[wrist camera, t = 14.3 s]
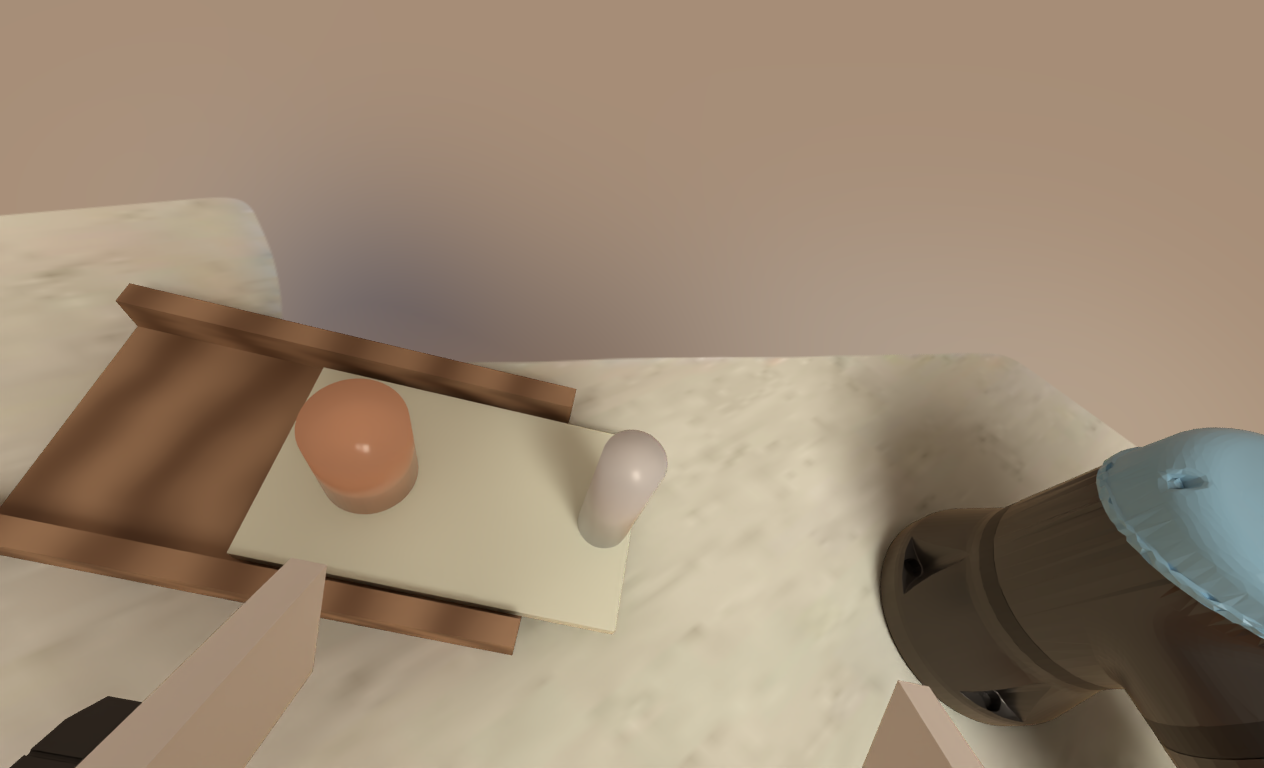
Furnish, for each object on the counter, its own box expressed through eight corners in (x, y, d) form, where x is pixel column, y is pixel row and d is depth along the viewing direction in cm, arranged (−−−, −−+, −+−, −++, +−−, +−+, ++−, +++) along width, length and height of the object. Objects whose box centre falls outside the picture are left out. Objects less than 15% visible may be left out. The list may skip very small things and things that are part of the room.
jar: (435, 481, 40) (429, 436, 34) (349, 532, 37) (327, 493, 31) (389, 415, 42) (376, 362, 36) (303, 459, 39) (274, 410, 33)
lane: (570, 413, 48) (576, 389, 44) (512, 655, 38) (513, 647, 35) (157, 317, 45) (129, 283, 41) (-18, 551, 35) (-72, 532, 32)
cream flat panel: (642, 448, 46) (684, 365, 35) (611, 634, 39) (654, 598, 28) (327, 375, 44) (275, 265, 33) (233, 558, 37) (130, 488, 26)
